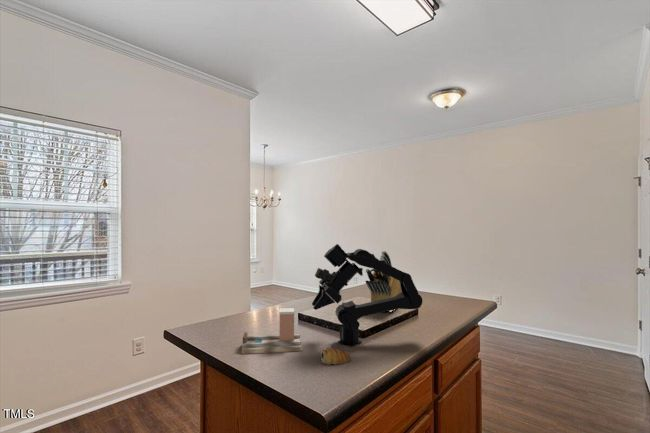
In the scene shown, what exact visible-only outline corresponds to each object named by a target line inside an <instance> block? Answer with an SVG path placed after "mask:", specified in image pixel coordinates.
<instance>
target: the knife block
mask: <svg viewBox="0 0 650 433" xmlns="http://www.w3.org/2000/svg"><path fill="white" fill-rule="evenodd" d="M371 254H372V255H373V256H375V254H374V253H371ZM379 260H380V261H382V262H384V263H386V264H388V265H390V266H392V267H393V265H392V261H391V258H390V255H389V254H388V252H387V251H386V250H382V251H381V255H380V258H379ZM365 273H366V274H367V277H368V279H369V280H365V284H366V285H367V288H368V290H369V291H370V302H374V301H378V300H383V299H388V298H392V297H395V296H396V295H398V294H399V293H401V292H402V291H401V287H400V282H399V280H397V279H395V278H393V277H391V276H389V275H387V274H385V273H382V272H380V271H378V270H376V269H373V268H371V269H370V268H366V269H365Z"/></svg>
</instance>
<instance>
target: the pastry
mask: <svg viewBox="0 0 650 433" xmlns="http://www.w3.org/2000/svg"><path fill="white" fill-rule="evenodd" d="M320 357H321V359H320V360H321V362H322V363H323V364H324V365H329V366H331V365H334V366H335V365H340V364H341V365H342V364H346V363H347V362H350V360H351V355H350V353H349V352H348V351H347V350H346V351H345V350H342V349H338V348H334V347H332V348H326V349H324V348H323V349H321V352H320Z"/></svg>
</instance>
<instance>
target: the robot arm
mask: <svg viewBox="0 0 650 433" xmlns="http://www.w3.org/2000/svg"><path fill="white" fill-rule="evenodd" d="M372 254H373V253H371V252H369V251H368V250H365V249H362V248H357V249H355V250H354V251H353V252H347V253H346V251H345V250H344V249H342V247H341V245H339V244H338V243H336V244H335V245H334V246H332V247H331V248H329V249H328V250H327V251H326V252H325V254H323V255H324V258H325V259H326V260H327V261H328V262H329V263H330V264H331V265H332V266H333V267H334V268H336V267H338V270H336V271H332V272H330V271H329V270H327V269H326V268H324V269H322V268H320V267H318V268H317V269H316V272H315V274H314V277H315V278H317V279H320V280H319V281H318V283H319V284H318V293H317V294H316V296H315V297H314V299H313V301H312V303H311V306H313V307H312V308H313V309H314V310H315V311H316V310H319V309H321V308H323V307H327V306H330V305H332V304H335V303H336V304H337V305H338V304H339V303H340V302H341V301H342V295H341V294H340V293H341V292H340V291H342V289H343V288H345V287H347V286H349V284H348V283H349V282H350V281H351V280H352V279H353V278H354V276H356V274H358V275H359V276H360V277H363V276H364V275H363V270H364V269H363V267H365V268H367V269H376V270H378V271H380V272H382V273H385V274H387V275H389V276H391V277H393V278H395V279H397V280H399V282H400V287H401V291H402V292H401V293H399V294H398V295H396V296H395V297H392V298H388V299H383V300H378V301H374V302H371V301H370V302H366V303H361V304H356V303H355V302H354V301H353V300H350V301H347V302H344V301H343V302H341V304H339V305H338V306H336V309H335V316H336V318H337V319H338V322H339V323H340V328H339V340H337V343H338V344H340V345H343V346H346V347H347V348H348V347H349V348H351V347H354V346H357V345H360V344H362V341H361V340H360V339H359V336H360V335H359V333H360V332H359V327H360V324H361V323H360V322H359V321H358V320H360V319H362V317H367V316H372V315H376V314H381V313H386V312H385V311H390V310H394V309H395V310H398V309H399V310H418V309H420V308H421V307H422V305H423V298H422V296H421V294H420V293H419V292H418V289H417V287H416V285H415V283H414V280H413V278H412V275H411V274H409V273H407V272H405V271H402V270H400V269H398V268H396V267H394V266H393V265H392V266H390V265H388V264H386V263H384V262H382V261H380V259H378V258H377V257H376V256H375V255H374V256H373V255H372ZM349 260H350V261H352V263H351V262H350V261H349ZM358 265H359V266H361V267H359V266H358ZM395 310H394V311H395Z"/></svg>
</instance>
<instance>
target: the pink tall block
mask: <svg viewBox="0 0 650 433" xmlns="http://www.w3.org/2000/svg"><path fill="white" fill-rule="evenodd" d="M278 312H279V335H280V342H284V341H294V334H295V308H294V307H281V308H279V311H278Z"/></svg>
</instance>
